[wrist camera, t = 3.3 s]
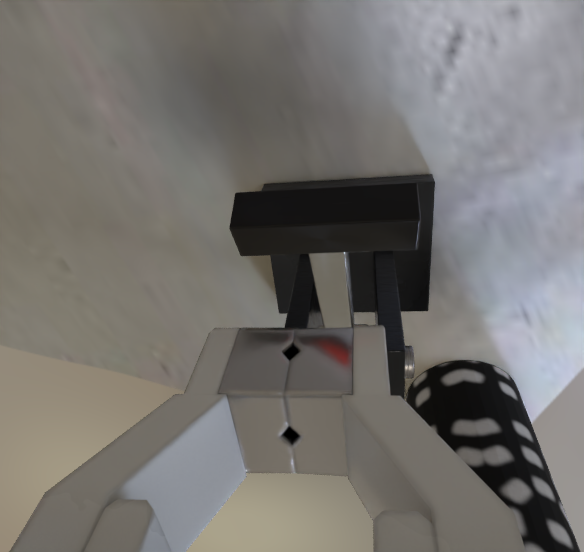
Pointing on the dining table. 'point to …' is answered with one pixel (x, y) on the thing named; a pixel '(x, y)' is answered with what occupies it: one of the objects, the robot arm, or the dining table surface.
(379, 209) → the toast lever
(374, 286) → the lever bracket
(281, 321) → the dining table surface
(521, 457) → the spotted tube
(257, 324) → the dining table surface
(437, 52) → the dining table surface
